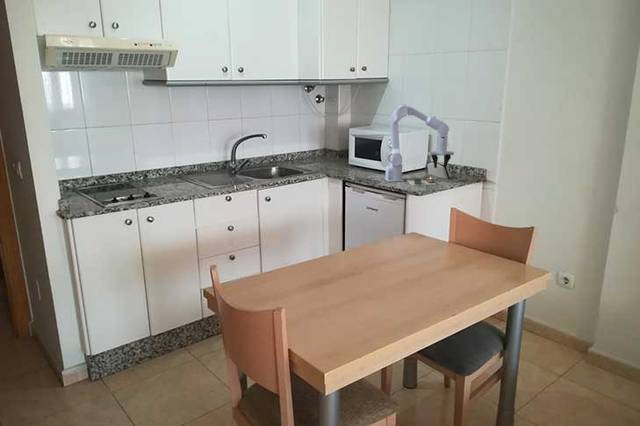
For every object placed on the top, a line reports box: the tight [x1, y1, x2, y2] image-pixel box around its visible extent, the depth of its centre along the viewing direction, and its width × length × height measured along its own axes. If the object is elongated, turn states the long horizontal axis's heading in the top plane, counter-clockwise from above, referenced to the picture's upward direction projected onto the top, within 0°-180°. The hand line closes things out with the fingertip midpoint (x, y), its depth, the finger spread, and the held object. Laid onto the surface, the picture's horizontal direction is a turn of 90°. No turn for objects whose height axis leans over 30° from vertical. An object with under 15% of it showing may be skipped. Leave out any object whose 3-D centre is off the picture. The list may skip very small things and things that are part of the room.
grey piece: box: [426, 161, 453, 179], centre depth 300 cm, size 17×5×10 cm, turn 28°
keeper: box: [412, 176, 422, 184], centre depth 278 cm, size 4×6×3 cm, turn 6°
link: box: [423, 175, 435, 183], centre depth 284 cm, size 12×4×2 cm, turn 6°
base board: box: [406, 178, 437, 187], centre depth 282 cm, size 14×13×1 cm
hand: (440, 167), depth 283 cm, fingers open, 5 cm apart
